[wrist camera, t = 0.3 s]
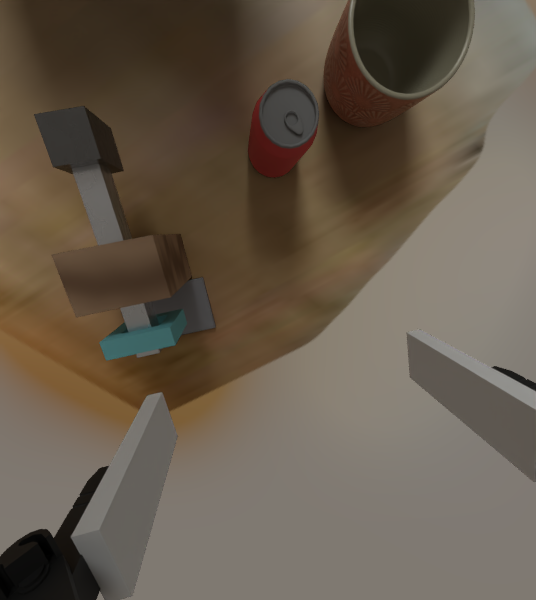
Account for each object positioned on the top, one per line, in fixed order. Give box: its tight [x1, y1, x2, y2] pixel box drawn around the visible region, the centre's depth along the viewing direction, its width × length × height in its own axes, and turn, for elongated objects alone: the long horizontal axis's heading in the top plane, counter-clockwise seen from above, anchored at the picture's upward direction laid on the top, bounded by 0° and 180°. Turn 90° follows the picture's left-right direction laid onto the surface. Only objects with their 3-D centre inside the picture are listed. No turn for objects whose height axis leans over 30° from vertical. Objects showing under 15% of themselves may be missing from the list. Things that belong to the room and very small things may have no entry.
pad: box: [152, 277, 216, 335], centre depth 40 cm, size 8×12×1 cm, turn 101°
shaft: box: [34, 106, 163, 358], centre depth 28 cm, size 23×4×5 cm, turn 11°
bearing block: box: [52, 234, 192, 317], centre depth 32 cm, size 6×9×13 cm, turn 101°
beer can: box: [248, 79, 319, 178], centre depth 31 cm, size 7×7×12 cm
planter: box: [324, 0, 475, 127], centre depth 30 cm, size 12×12×11 cm
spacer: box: [99, 309, 187, 361], centre depth 31 cm, size 2×7×7 cm, turn 101°
